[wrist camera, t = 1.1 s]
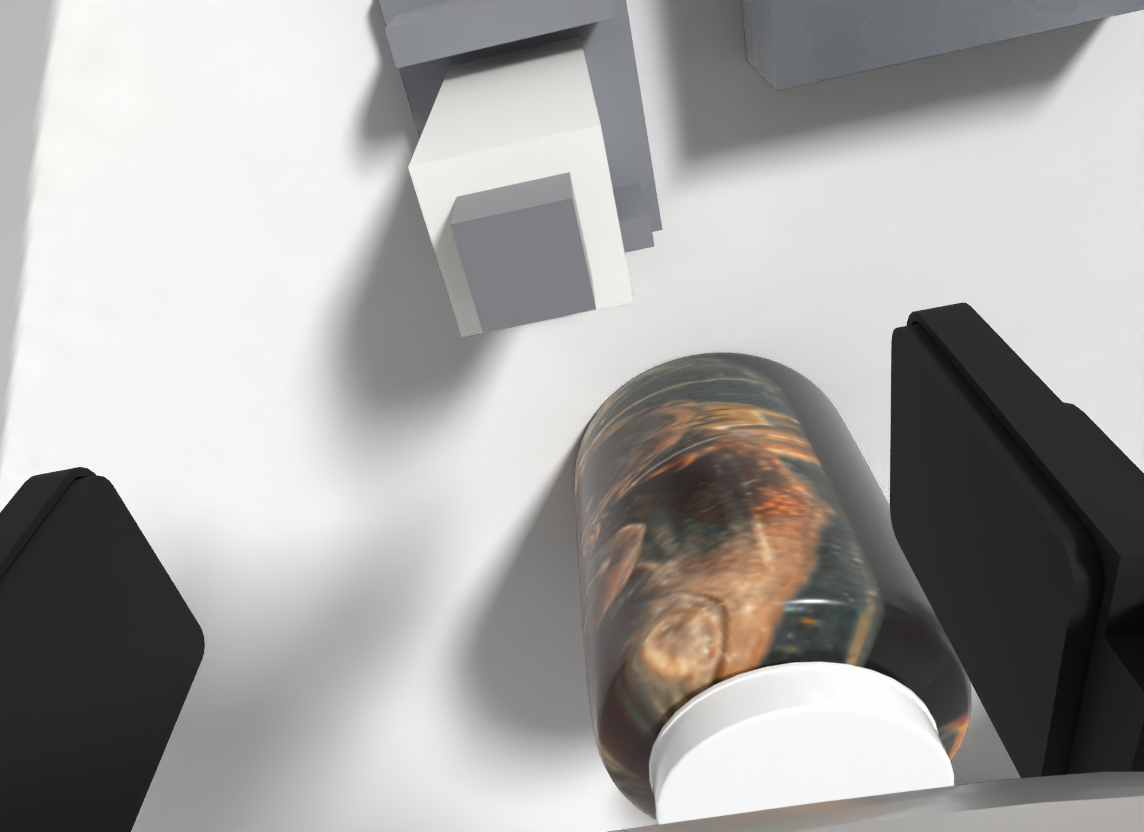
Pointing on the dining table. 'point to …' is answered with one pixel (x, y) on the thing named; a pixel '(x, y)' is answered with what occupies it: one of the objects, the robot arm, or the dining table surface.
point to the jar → (751, 601)
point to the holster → (526, 19)
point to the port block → (893, 31)
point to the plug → (520, 191)
